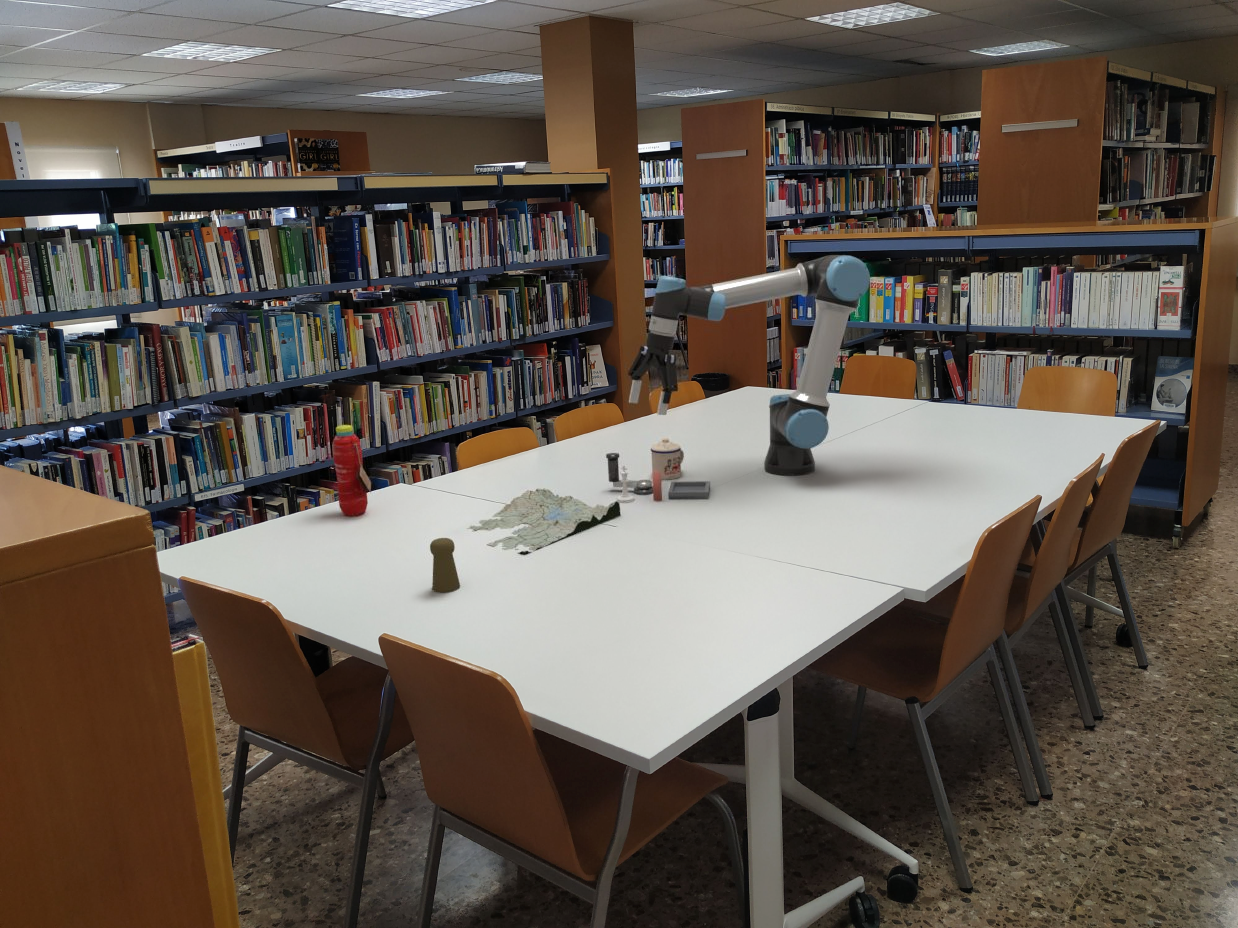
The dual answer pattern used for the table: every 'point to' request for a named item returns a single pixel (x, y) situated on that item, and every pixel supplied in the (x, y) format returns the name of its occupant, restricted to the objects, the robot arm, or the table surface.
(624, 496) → the chess piece
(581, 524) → the topographic map model
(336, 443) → the water bottle
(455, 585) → the cork
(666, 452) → the teacup with lid
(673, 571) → the table surface
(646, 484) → the crank arm
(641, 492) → the crank base
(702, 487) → the tray
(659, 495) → the post
